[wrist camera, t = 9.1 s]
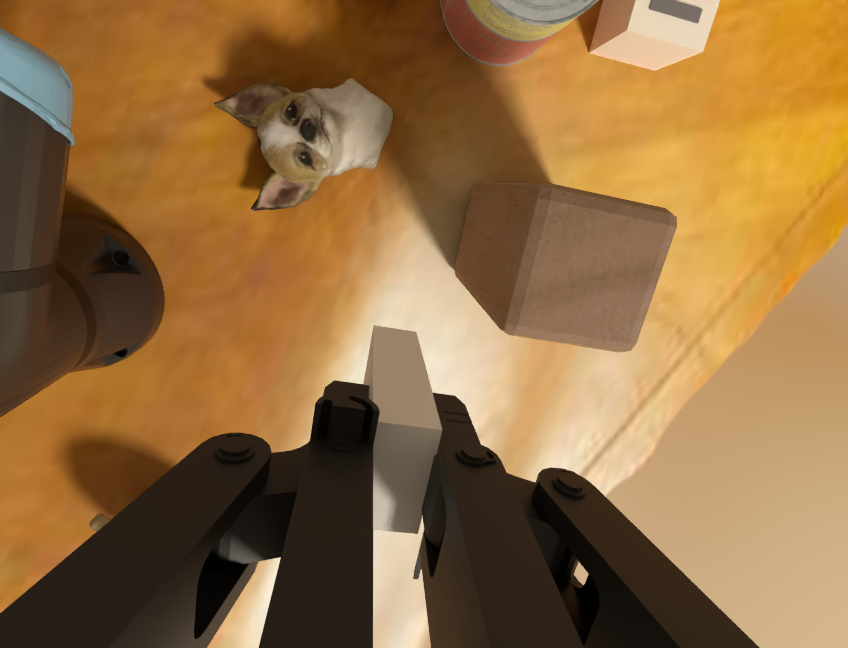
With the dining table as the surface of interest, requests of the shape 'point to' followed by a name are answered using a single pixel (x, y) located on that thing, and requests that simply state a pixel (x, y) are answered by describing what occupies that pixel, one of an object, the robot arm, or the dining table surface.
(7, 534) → the dining table surface
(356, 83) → the ceramic sculpture
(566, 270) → the block
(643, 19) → the marked cube 1
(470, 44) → the canned food
